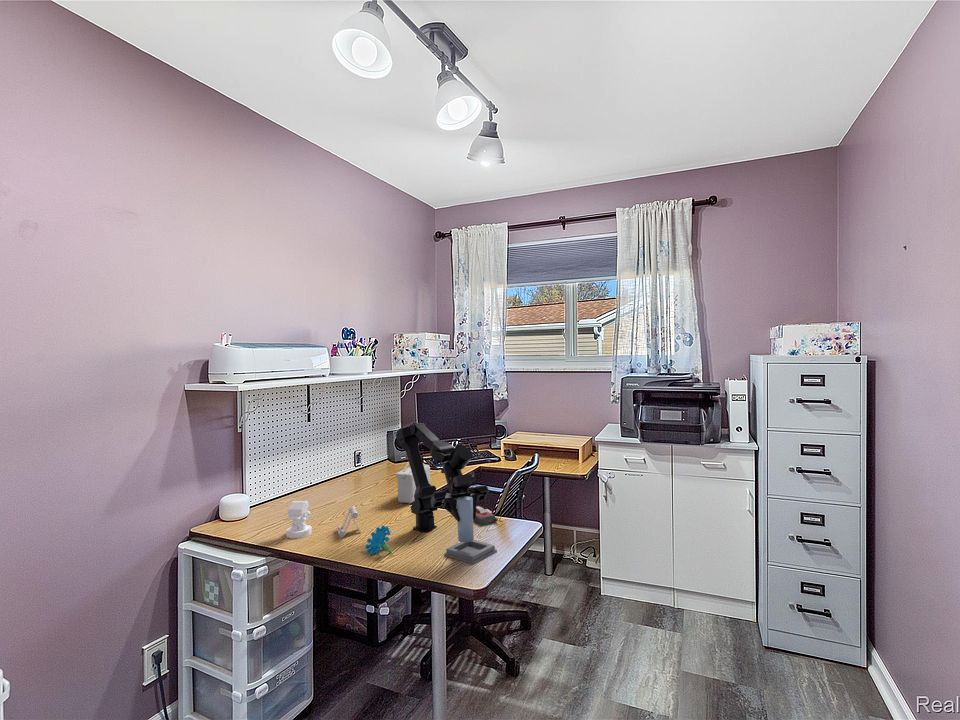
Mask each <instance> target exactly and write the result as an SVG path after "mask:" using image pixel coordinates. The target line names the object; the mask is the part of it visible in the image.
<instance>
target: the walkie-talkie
mask: <svg viewBox="0 0 960 720" xmlns="http://www.w3.org/2000/svg"><path fill="white" fill-rule="evenodd" d="M473 522H475V523H477V524H479V525H480V526H484V525H489V524H493V523H496V522H498V518H497V517H496V515H495V514H494V513H493V511H492V510H489V509H488V508H485V509H484V507H482V506H479V505H476V518H475V519H473Z"/></svg>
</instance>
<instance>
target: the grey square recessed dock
mask: <svg viewBox="0 0 960 720" xmlns="http://www.w3.org/2000/svg"><path fill="white" fill-rule="evenodd" d="M445 551H446V552H444V554H443V555H444V556H446V557H449V558H451V559H455V560H458V561H461V562H465V563H468V564H471V565H474V564H476V563H478V562H480V561H482V560H484V559H485V558H487V557H489V556H491V555H493V554H495V553H497V552H498V550H497V549H496V548H495V545H494V544H492V543H491V544H490V543H487V542H484V541H480V540H476V539H474V540H473V541H471V542H460V541H459V542H457V543H456V544H454V545H452V546H451V545H450V547H447V548H446V550H445Z"/></svg>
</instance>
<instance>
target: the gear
mask: <svg viewBox="0 0 960 720" xmlns="http://www.w3.org/2000/svg"><path fill="white" fill-rule="evenodd" d="M370 535H371V538H369V537H368V538H367V539H366V542H367V543H368V544H365V549H366V551H365V552H366V553H367V554H369V555H370V554H371V555H372V556H373V555H375V553H377V554H379V553H380V552H381V549H382V550H383V551H385V552H388V553H390V554H392V553H393V550H391V549H390V547H389V545H388V544H387V543H388V542H389V540H390V537H388V536H391V530H390V526H389V527H388V526H385V525H381V527H376V529H375V532H374V531H372V532H371V533H370Z"/></svg>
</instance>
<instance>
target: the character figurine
mask: <svg viewBox="0 0 960 720" xmlns="http://www.w3.org/2000/svg"><path fill="white" fill-rule="evenodd" d="M311 507H312V505H311V504H310V503H309V502H308V500H292V502H290V503H289V506H288V508H287V515H288V516H286V521H287V520H288V521H289V520H291V522H292V523H291V524H290V525H291V526H290V527H288V528H287V529H286V531H285V532H286V533H285V534H286V537H287V538H288V537H289V539H300V538H304V537H305V538H306V537H308V536H310V535H312V533H313V531H312V526H311V525H309V524H306V522H307V521H308V519H309V517H310V516H311V515H312V513H311V511H310V508H311Z"/></svg>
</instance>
